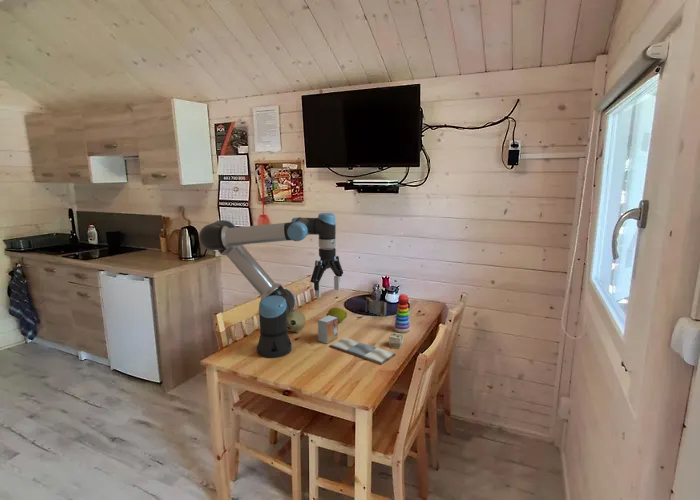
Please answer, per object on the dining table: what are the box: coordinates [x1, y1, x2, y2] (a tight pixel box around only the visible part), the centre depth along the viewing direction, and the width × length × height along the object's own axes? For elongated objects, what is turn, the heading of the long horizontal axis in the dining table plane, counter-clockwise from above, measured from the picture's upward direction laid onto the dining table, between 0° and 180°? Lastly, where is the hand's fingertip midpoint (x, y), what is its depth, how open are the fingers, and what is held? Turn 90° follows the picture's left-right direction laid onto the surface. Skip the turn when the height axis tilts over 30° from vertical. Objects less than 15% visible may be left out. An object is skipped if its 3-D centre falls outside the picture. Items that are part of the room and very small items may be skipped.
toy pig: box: [287, 309, 306, 334], centre depth 203 cm, size 10×12×11 cm
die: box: [388, 332, 404, 350], centre depth 188 cm, size 5×5×5 cm
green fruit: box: [325, 307, 348, 324], centre depth 215 cm, size 11×8×8 cm
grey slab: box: [365, 296, 388, 317], centre depth 227 cm, size 11×3×10 cm, turn 60°
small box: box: [317, 315, 339, 344], centre depth 194 cm, size 8×6×10 cm
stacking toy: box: [393, 293, 411, 334], centre depth 204 cm, size 8×8×19 cm
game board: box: [329, 337, 397, 366], centre depth 183 cm, size 11×28×1 cm, turn 52°
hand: (327, 293), depth 190 cm, fingers open, 13 cm apart
